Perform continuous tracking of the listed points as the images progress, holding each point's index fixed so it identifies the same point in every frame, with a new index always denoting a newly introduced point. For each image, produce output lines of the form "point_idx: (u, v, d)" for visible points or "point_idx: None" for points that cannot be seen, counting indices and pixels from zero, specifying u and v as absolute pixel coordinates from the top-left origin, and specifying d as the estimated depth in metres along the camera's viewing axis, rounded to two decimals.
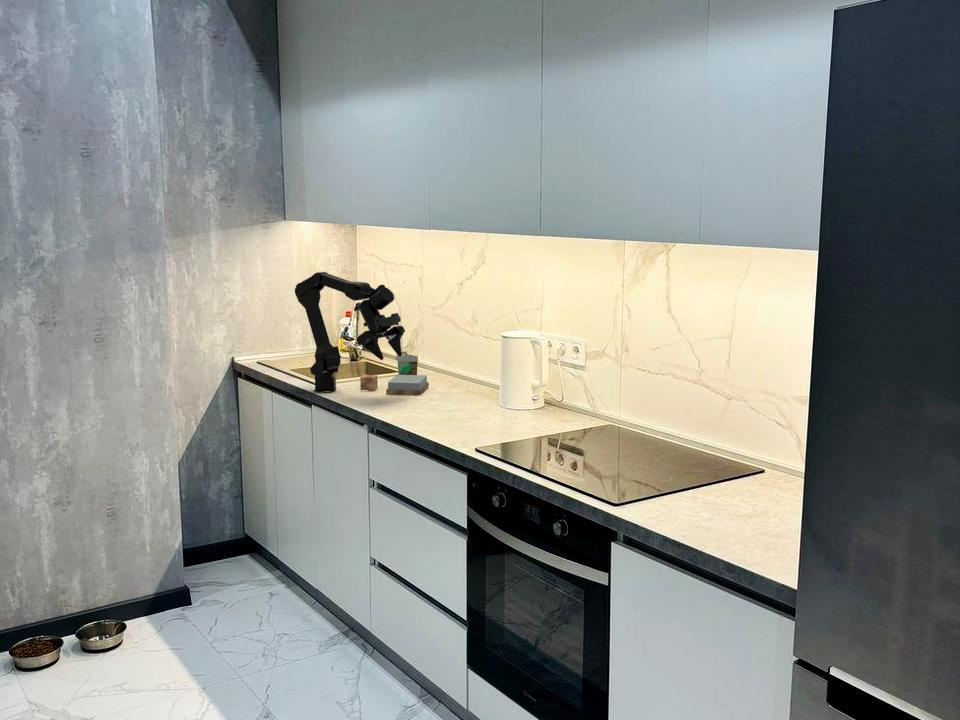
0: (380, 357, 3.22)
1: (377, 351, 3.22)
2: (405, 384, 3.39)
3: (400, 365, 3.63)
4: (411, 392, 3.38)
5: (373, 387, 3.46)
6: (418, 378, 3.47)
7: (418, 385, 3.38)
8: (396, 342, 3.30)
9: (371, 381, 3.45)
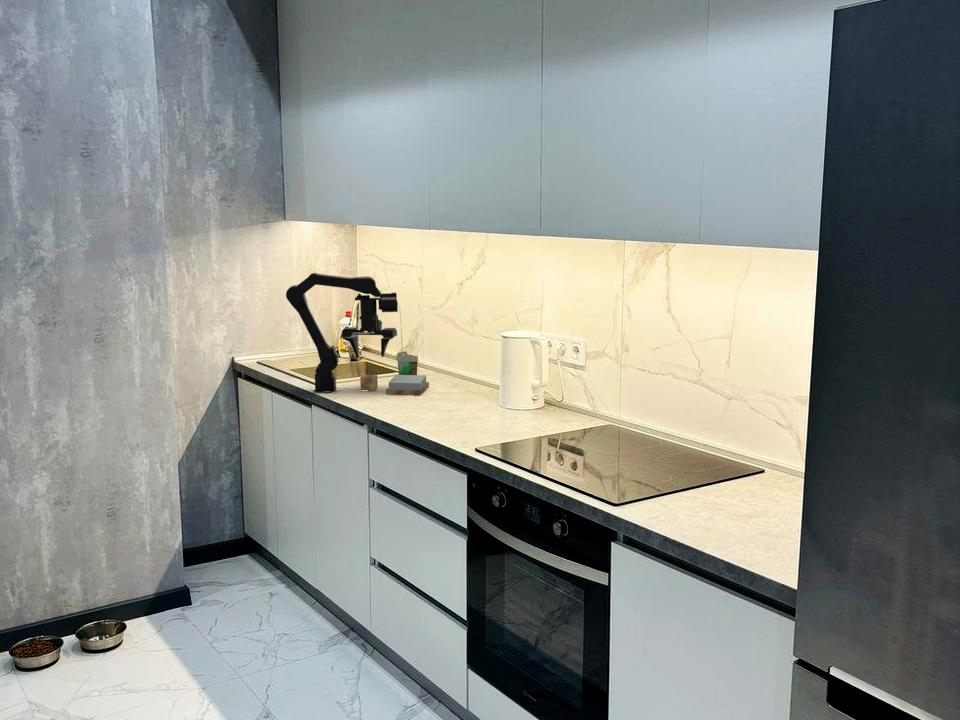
0: (383, 354, 3.45)
1: (385, 348, 3.45)
2: (406, 384, 3.39)
3: (400, 365, 3.63)
4: (410, 392, 3.38)
5: (373, 387, 3.46)
6: (418, 378, 3.47)
7: (419, 385, 3.38)
8: (357, 342, 3.47)
9: (371, 381, 3.45)
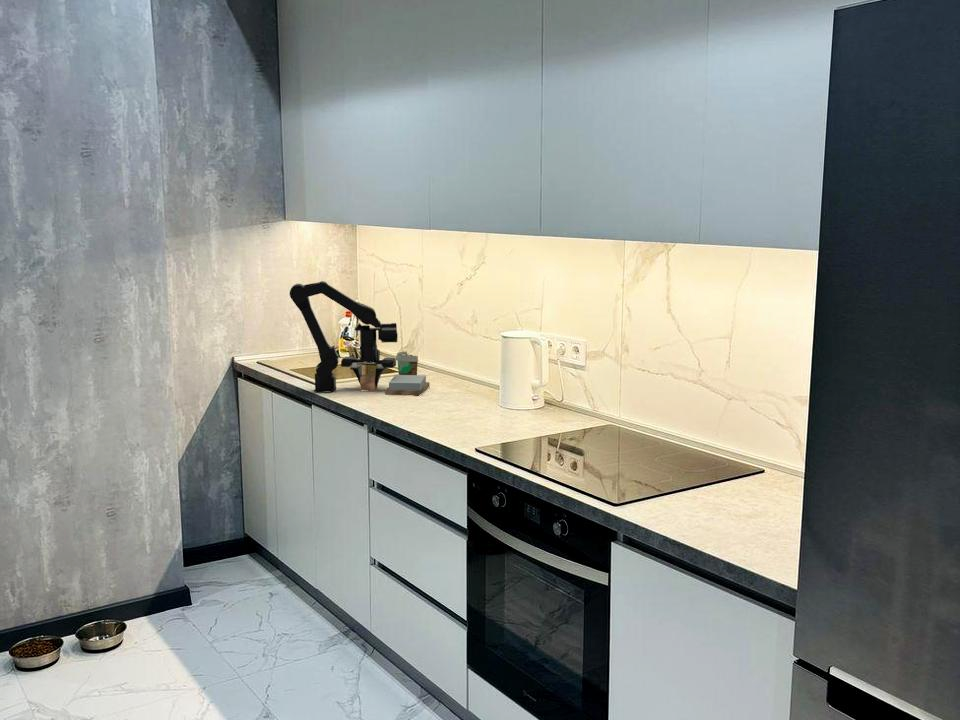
0: (377, 384, 3.48)
1: (379, 378, 3.48)
2: (406, 384, 3.39)
3: (400, 365, 3.63)
4: (409, 392, 3.38)
5: (373, 387, 3.46)
6: (418, 378, 3.47)
7: (419, 385, 3.39)
8: (361, 372, 3.49)
9: (371, 380, 3.45)
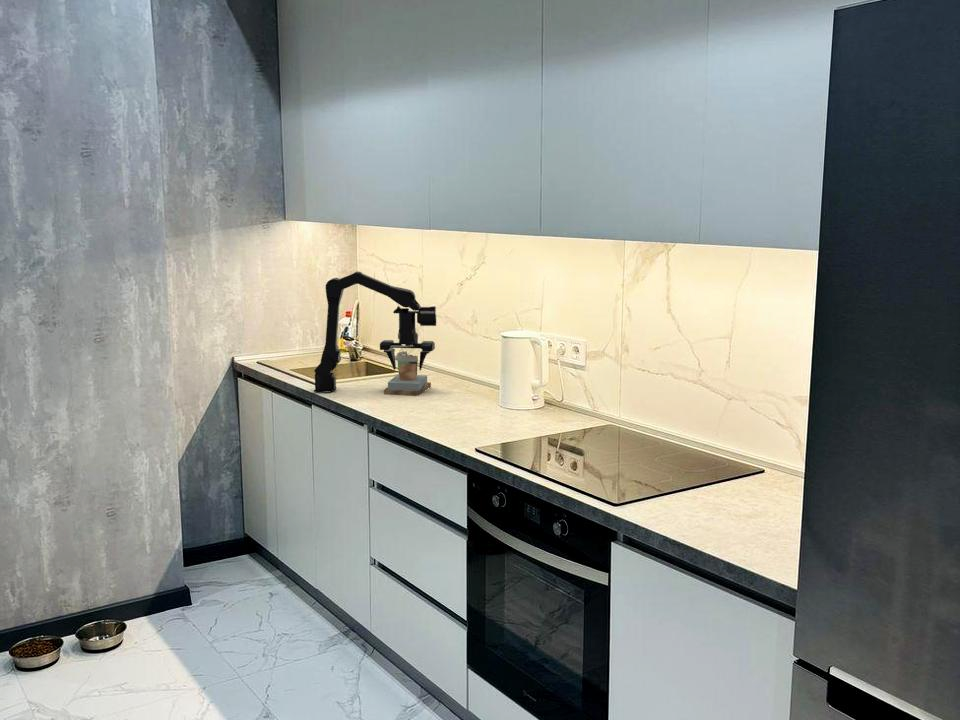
0: (421, 367, 3.45)
1: (423, 361, 3.45)
2: (405, 384, 3.39)
3: None
4: (407, 392, 3.38)
5: (412, 376, 3.43)
6: (418, 378, 3.47)
7: (418, 385, 3.38)
8: (394, 355, 3.46)
9: (410, 369, 3.43)
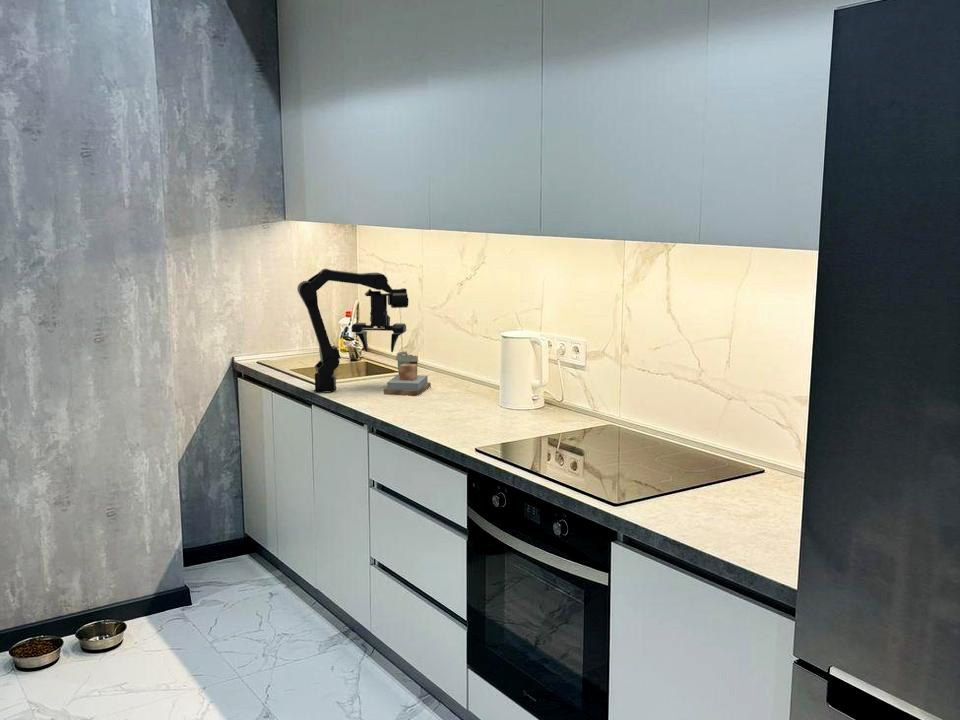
0: (393, 349, 3.49)
1: (395, 343, 3.49)
2: (404, 384, 3.39)
3: None
4: (407, 392, 3.38)
5: (412, 376, 3.43)
6: (418, 378, 3.47)
7: (417, 385, 3.38)
8: (366, 338, 3.50)
9: (409, 369, 3.43)
